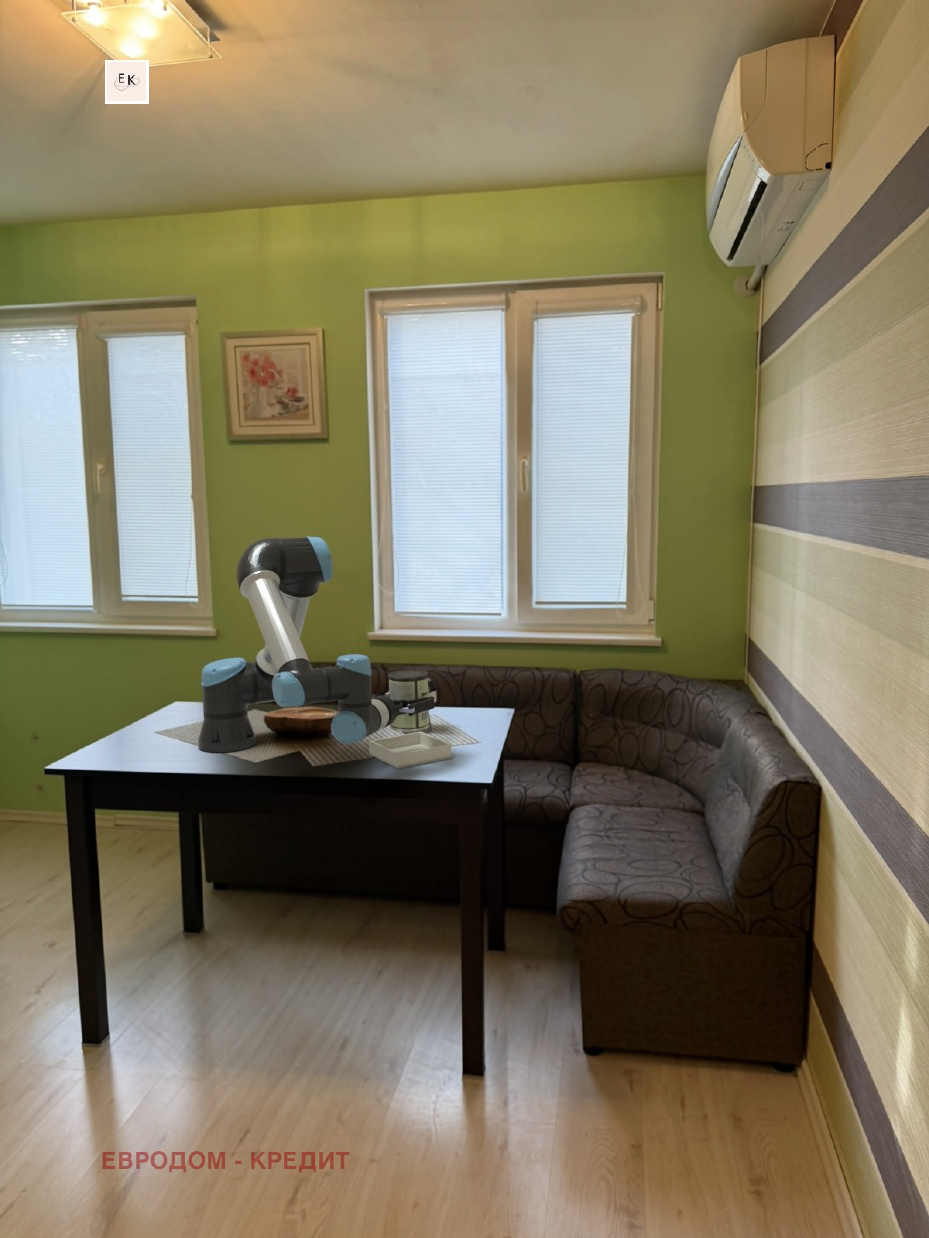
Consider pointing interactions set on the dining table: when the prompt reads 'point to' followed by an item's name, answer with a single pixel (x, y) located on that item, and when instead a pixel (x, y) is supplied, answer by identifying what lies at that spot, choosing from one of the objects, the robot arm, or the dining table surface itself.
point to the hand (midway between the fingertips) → (416, 694)
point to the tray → (409, 749)
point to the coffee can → (409, 698)
